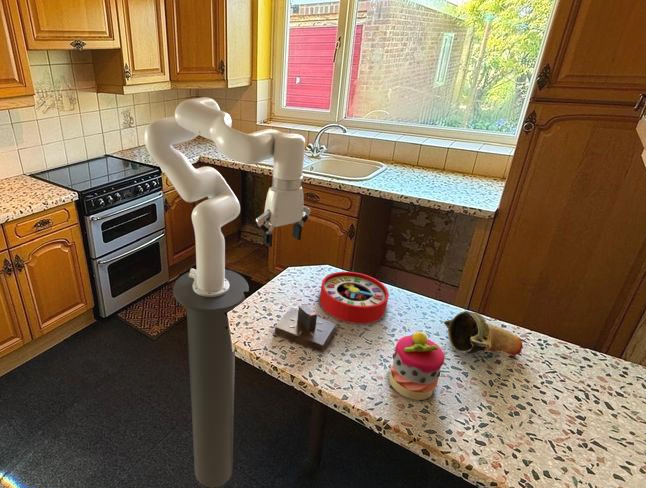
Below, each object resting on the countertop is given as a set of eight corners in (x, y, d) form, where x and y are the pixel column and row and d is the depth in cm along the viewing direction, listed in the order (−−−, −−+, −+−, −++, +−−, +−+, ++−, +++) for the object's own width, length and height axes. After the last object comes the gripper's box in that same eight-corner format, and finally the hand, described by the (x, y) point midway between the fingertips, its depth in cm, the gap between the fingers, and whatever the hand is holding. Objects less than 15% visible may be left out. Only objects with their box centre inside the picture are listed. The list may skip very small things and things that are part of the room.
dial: (297, 320, 114) (298, 305, 112) (303, 318, 115) (305, 303, 113) (309, 331, 110) (310, 316, 108) (315, 329, 111) (317, 314, 109)
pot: (551, 341, 97) (485, 319, 96) (531, 383, 98) (466, 362, 97) (499, 318, 114) (443, 299, 113) (484, 353, 116) (428, 335, 114)
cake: (379, 369, 101) (391, 322, 94) (418, 365, 102) (432, 318, 95) (401, 403, 91) (415, 353, 85) (444, 398, 93) (461, 349, 86)
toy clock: (328, 266, 135) (391, 279, 128) (326, 281, 138) (387, 294, 131) (315, 297, 119) (385, 314, 112) (313, 313, 122) (382, 330, 114)
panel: (274, 333, 113) (275, 326, 112) (290, 313, 121) (291, 306, 120) (321, 352, 106) (322, 344, 105) (335, 330, 115) (336, 322, 113)
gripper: (304, 174, 110) (299, 230, 118) (250, 183, 103) (248, 242, 111) (322, 182, 104) (315, 240, 112) (266, 192, 97) (263, 253, 105)
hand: (282, 241), depth 111 cm, fingers open, 9 cm apart
